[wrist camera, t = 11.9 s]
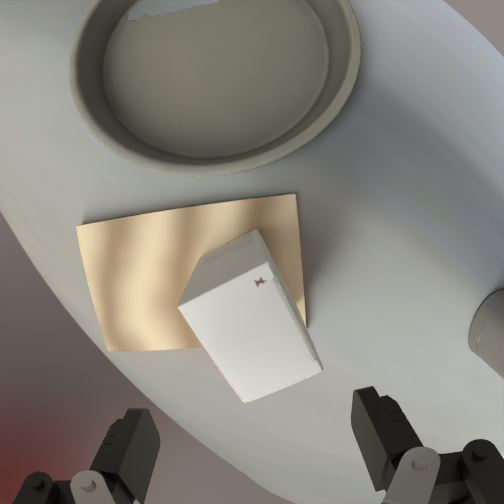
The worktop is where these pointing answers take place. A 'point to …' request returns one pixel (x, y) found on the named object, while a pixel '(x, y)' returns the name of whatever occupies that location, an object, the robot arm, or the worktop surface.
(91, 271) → the maple board
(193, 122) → the cake pan
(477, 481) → the robot arm
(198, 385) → the worktop surface
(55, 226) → the worktop surface
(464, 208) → the worktop surface
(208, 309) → the small box
